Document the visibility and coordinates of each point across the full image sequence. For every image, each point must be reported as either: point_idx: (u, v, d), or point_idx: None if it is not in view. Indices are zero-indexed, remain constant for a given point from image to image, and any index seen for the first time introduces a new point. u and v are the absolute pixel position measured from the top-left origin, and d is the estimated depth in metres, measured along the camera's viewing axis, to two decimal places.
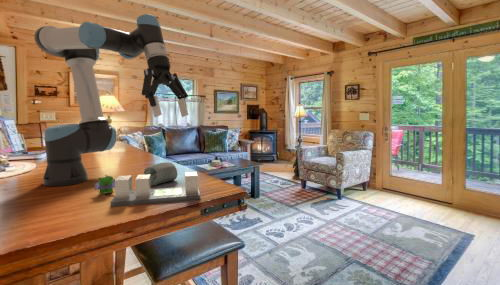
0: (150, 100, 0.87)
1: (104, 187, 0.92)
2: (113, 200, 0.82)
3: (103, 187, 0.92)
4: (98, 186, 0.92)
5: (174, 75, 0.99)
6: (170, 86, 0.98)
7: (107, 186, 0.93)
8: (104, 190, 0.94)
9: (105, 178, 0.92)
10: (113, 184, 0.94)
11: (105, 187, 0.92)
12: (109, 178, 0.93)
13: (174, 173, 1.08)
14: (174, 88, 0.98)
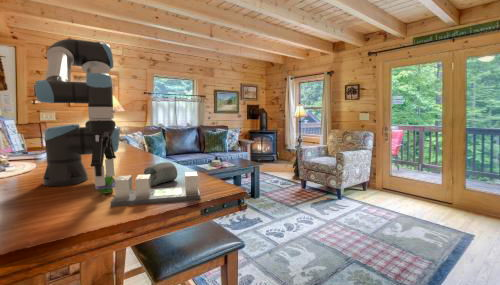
0: (97, 170, 0.84)
1: (104, 187, 0.92)
2: (113, 200, 0.82)
3: (103, 187, 0.92)
4: (98, 186, 0.92)
5: (109, 135, 0.97)
6: None
7: (107, 186, 0.93)
8: (104, 190, 0.94)
9: (105, 178, 0.92)
10: (113, 184, 0.94)
11: (105, 187, 0.92)
12: (109, 178, 0.93)
13: (174, 173, 1.08)
14: (108, 149, 0.96)
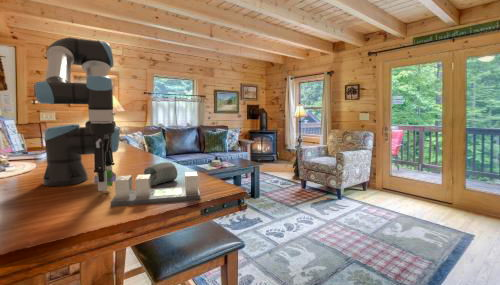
0: (100, 176, 0.88)
1: None
2: (113, 200, 0.82)
3: None
4: None
5: (109, 139, 0.97)
6: None
7: None
8: None
9: None
10: (112, 178, 0.95)
11: None
12: (108, 172, 0.93)
13: (174, 173, 1.08)
14: (107, 153, 0.95)
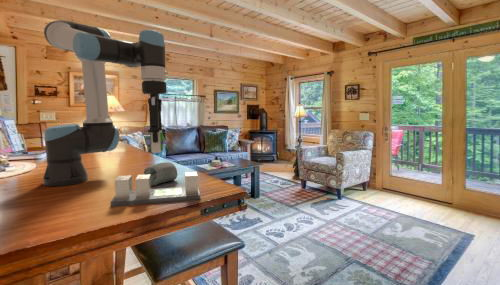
0: (154, 136, 0.83)
1: None
2: (113, 200, 0.82)
3: None
4: (149, 142, 0.87)
5: None
6: None
7: None
8: None
9: None
10: (164, 141, 0.89)
11: None
12: (160, 134, 0.88)
13: (174, 173, 1.08)
14: (158, 116, 0.90)
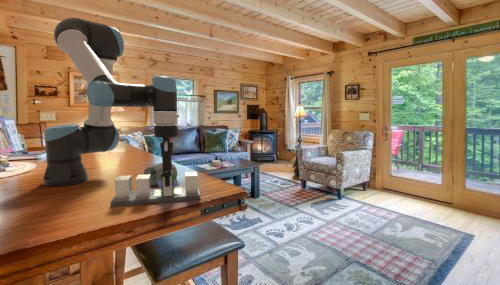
0: (167, 181, 0.84)
1: None
2: (113, 200, 0.82)
3: None
4: (160, 184, 0.89)
5: (170, 142, 0.94)
6: None
7: None
8: None
9: None
10: (175, 182, 0.91)
11: None
12: (172, 176, 0.90)
13: (174, 173, 1.08)
14: None
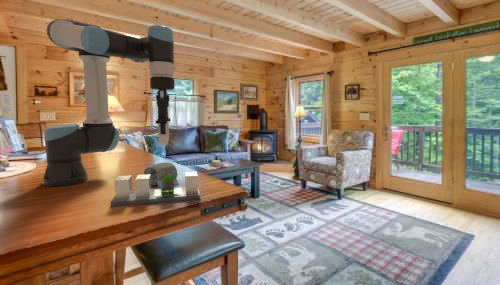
0: (162, 128, 0.80)
1: (167, 185, 0.89)
2: (113, 200, 0.82)
3: (166, 185, 0.89)
4: (160, 184, 0.89)
5: None
6: None
7: (169, 184, 0.90)
8: (165, 188, 0.91)
9: (168, 176, 0.89)
10: (175, 182, 0.91)
11: (168, 185, 0.89)
12: (172, 176, 0.90)
13: (174, 173, 1.08)
14: None
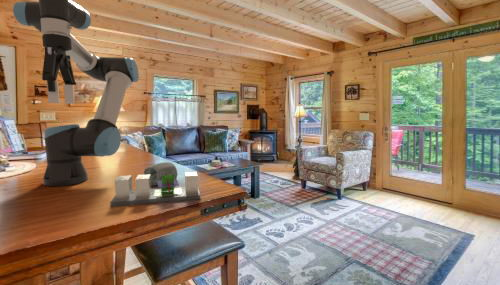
0: (50, 85, 0.79)
1: (167, 185, 0.89)
2: (113, 200, 0.82)
3: (166, 185, 0.89)
4: (160, 184, 0.89)
5: (68, 57, 0.91)
6: (62, 69, 0.89)
7: (169, 184, 0.90)
8: (165, 188, 0.91)
9: (168, 176, 0.89)
10: (175, 182, 0.91)
11: (168, 185, 0.89)
12: (171, 176, 0.90)
13: (174, 173, 1.08)
14: (66, 72, 0.90)
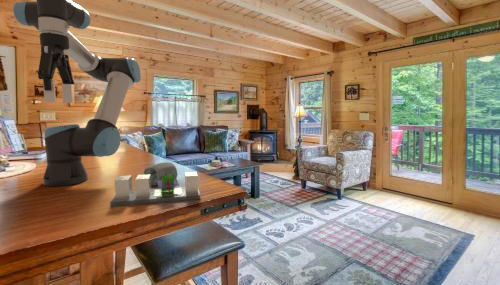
0: (46, 83, 0.78)
1: (167, 185, 0.89)
2: (113, 200, 0.82)
3: (166, 185, 0.89)
4: (160, 184, 0.89)
5: (66, 57, 0.91)
6: (60, 68, 0.89)
7: (169, 184, 0.90)
8: (165, 188, 0.91)
9: (168, 176, 0.89)
10: (175, 182, 0.91)
11: (168, 185, 0.89)
12: (171, 176, 0.90)
13: (174, 173, 1.08)
14: (64, 71, 0.90)
